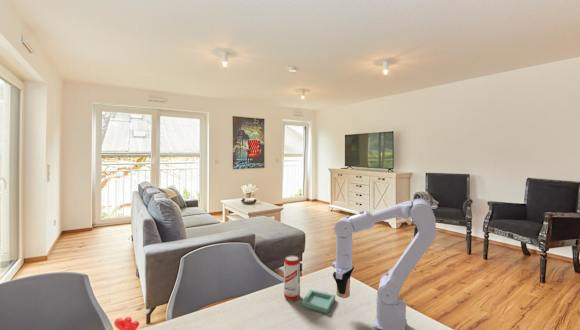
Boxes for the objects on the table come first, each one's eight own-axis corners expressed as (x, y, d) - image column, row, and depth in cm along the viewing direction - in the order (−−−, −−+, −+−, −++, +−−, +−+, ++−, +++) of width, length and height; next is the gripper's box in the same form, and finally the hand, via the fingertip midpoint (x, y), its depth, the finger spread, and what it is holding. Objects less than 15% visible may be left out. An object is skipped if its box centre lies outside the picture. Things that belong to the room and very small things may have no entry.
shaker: (350, 292, 100) (351, 275, 99) (348, 299, 95) (348, 281, 95) (338, 290, 101) (338, 273, 101) (335, 296, 97) (335, 278, 97)
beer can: (298, 302, 106) (298, 261, 105) (282, 300, 107) (282, 260, 106) (301, 293, 112) (301, 255, 111) (285, 292, 113) (285, 254, 112)
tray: (334, 300, 108) (334, 295, 108) (327, 314, 99) (327, 309, 98) (310, 294, 112) (310, 289, 112) (301, 307, 103) (301, 302, 103)
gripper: (337, 244, 105) (337, 278, 106) (327, 258, 92) (326, 297, 93) (356, 246, 103) (356, 282, 104) (348, 261, 89) (347, 302, 90)
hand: (343, 289), depth 98 cm, fingers closed on shaker, 5 cm apart
